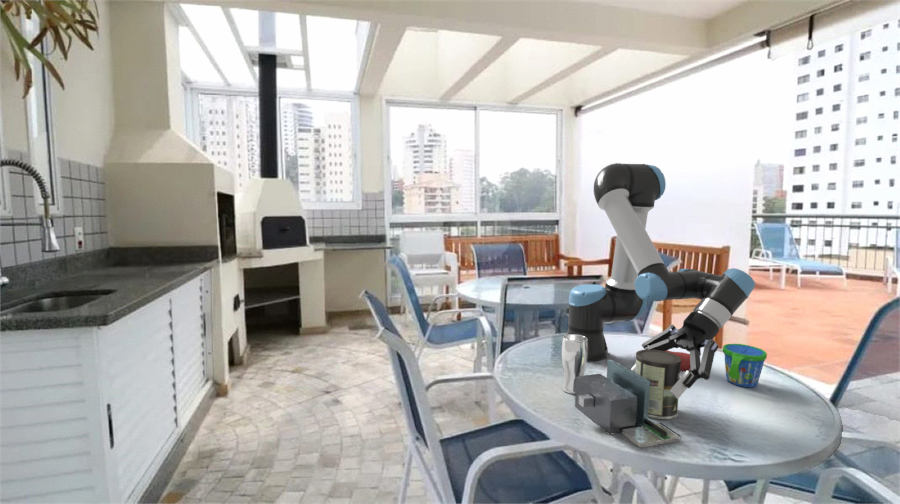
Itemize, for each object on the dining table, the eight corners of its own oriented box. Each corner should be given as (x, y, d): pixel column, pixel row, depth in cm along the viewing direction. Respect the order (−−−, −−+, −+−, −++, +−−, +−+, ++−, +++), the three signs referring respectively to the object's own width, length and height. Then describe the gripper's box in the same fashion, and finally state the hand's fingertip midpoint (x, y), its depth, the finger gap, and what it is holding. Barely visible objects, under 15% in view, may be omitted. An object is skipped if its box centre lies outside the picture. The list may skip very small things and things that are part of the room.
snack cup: (750, 396, 119) (753, 360, 117) (709, 383, 127) (711, 349, 126) (773, 383, 127) (777, 349, 126) (734, 371, 136) (736, 339, 135)
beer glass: (555, 386, 124) (556, 335, 122) (574, 383, 126) (576, 332, 125) (571, 397, 117) (573, 342, 116) (591, 392, 120) (593, 339, 118)
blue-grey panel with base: (564, 406, 111) (566, 364, 110) (609, 399, 115) (611, 359, 113) (615, 449, 92) (618, 399, 91) (667, 440, 96) (670, 392, 94)
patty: (704, 376, 133) (705, 369, 133) (654, 369, 139) (655, 363, 138) (697, 357, 149) (697, 351, 149) (652, 351, 155) (652, 346, 154)
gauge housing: (575, 406, 112) (576, 376, 111) (620, 400, 116) (621, 371, 115) (628, 450, 92) (630, 414, 91) (680, 440, 96) (683, 406, 95)
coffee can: (670, 402, 115) (674, 350, 113) (683, 421, 105) (687, 365, 103) (629, 398, 117) (632, 347, 115) (637, 417, 107) (640, 361, 105)
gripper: (759, 345, 100) (701, 415, 98) (676, 317, 124) (628, 373, 122) (743, 324, 98) (684, 396, 96) (661, 299, 122) (612, 356, 120)
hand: (652, 383), depth 109 cm, fingers open, 13 cm apart
